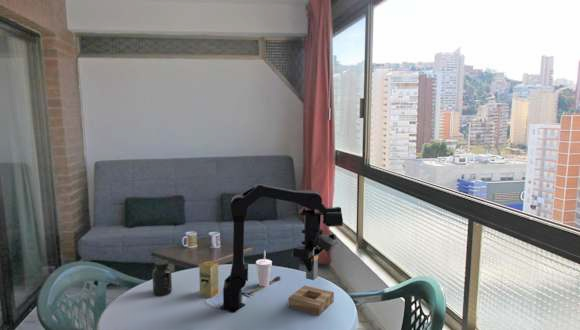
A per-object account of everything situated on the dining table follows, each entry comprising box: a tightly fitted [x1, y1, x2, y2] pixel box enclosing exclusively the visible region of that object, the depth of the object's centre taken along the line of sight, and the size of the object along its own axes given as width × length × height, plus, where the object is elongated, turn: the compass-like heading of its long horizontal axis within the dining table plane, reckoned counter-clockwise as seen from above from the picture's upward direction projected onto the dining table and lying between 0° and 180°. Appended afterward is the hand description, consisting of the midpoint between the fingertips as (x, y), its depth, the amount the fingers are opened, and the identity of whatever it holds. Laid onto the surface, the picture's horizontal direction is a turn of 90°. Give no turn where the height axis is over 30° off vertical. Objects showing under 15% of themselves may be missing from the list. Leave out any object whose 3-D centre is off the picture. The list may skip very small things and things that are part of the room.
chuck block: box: [288, 285, 335, 316], centre depth 147 cm, size 12×12×4 cm
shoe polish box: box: [198, 260, 219, 299], centre depth 154 cm, size 5×5×12 cm
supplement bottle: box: [152, 259, 173, 297], centre depth 155 cm, size 7×7×12 cm
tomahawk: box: [242, 275, 281, 299], centre depth 161 cm, size 21×7×1 cm, turn 141°
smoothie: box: [255, 250, 273, 288], centre depth 162 cm, size 6×6×14 cm
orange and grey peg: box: [305, 254, 319, 281], centre depth 145 cm, size 3×3×8 cm
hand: (311, 269), depth 146 cm, fingers closed on orange and grey peg, 3 cm apart
